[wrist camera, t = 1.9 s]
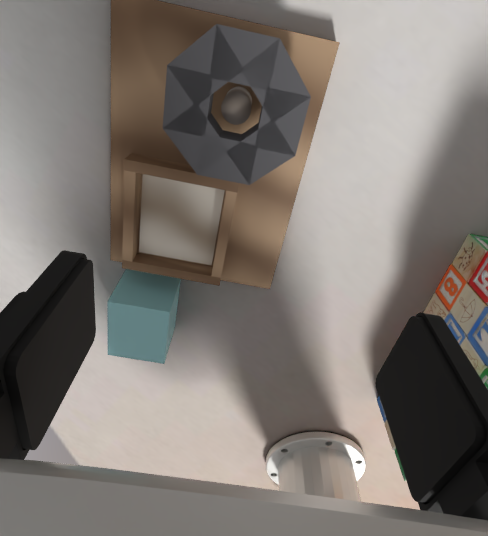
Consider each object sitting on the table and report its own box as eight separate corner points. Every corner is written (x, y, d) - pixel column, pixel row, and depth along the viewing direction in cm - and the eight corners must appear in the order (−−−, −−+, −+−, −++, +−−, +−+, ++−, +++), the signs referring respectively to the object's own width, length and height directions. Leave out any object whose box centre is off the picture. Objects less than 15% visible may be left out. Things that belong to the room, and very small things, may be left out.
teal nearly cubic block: (175, 326, 37) (164, 363, 33) (125, 318, 37) (107, 354, 33) (180, 278, 34) (169, 312, 30) (126, 268, 34) (107, 301, 30)
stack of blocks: (428, 406, 42) (482, 527, 32) (375, 398, 42) (413, 518, 32) (538, 243, 31) (679, 348, 21) (467, 230, 31) (573, 330, 20)
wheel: (283, 181, 25) (285, 192, 24) (166, 158, 25) (159, 167, 23) (318, 47, 21) (324, 48, 19) (178, 15, 20) (170, 13, 19)
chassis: (269, 281, 34) (270, 310, 30) (115, 253, 33) (97, 279, 29) (336, 42, 24) (349, 43, 20) (117, -9, 23) (91, -17, 19)
